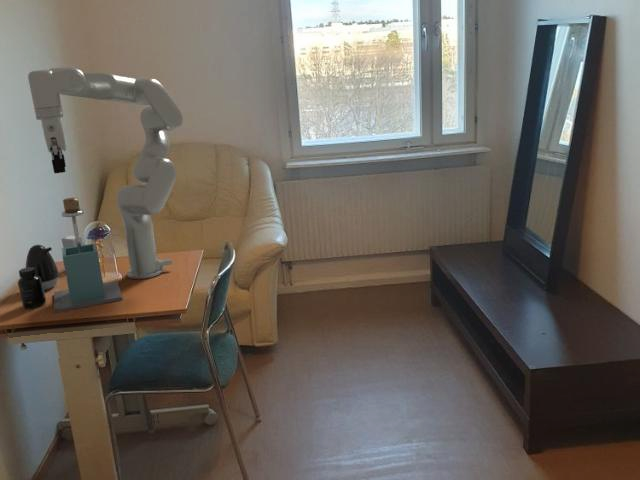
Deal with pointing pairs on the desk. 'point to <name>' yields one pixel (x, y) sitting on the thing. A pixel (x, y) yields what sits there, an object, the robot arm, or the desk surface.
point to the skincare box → (70, 241)
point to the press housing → (84, 281)
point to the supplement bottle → (31, 288)
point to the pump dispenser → (43, 265)
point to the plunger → (73, 216)
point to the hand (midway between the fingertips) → (60, 170)
